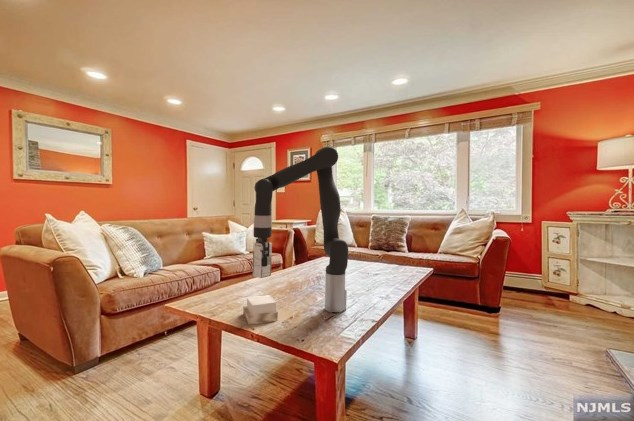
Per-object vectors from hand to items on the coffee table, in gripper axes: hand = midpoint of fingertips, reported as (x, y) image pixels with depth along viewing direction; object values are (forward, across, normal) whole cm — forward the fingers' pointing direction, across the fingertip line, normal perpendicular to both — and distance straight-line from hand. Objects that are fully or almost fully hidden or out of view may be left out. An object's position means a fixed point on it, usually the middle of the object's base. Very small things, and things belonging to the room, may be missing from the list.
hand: (261, 264), depth 121 cm
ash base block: (+23, 0, 0) cm, 23 cm away
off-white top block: (+19, 0, 0) cm, 19 cm away
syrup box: (+5, 0, 0) cm, 5 cm away
